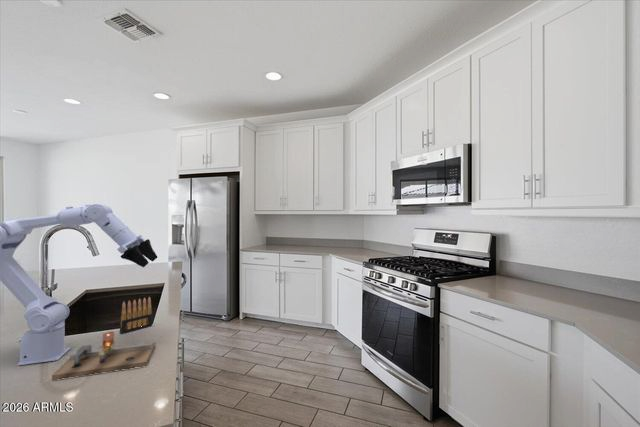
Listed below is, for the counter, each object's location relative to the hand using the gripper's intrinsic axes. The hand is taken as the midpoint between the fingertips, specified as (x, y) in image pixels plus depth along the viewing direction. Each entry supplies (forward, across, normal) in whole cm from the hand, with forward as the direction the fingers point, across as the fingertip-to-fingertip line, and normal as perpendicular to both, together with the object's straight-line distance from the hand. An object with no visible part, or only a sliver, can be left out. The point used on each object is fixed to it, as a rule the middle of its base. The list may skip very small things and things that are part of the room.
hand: (150, 262), depth 96 cm
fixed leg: (+10, -14, +28) cm, 33 cm away
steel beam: (+14, -10, +23) cm, 29 cm away
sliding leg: (+13, -13, +23) cm, 30 cm away
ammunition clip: (+15, +13, +28) cm, 35 cm away
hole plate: (+16, -13, +24) cm, 31 cm away
